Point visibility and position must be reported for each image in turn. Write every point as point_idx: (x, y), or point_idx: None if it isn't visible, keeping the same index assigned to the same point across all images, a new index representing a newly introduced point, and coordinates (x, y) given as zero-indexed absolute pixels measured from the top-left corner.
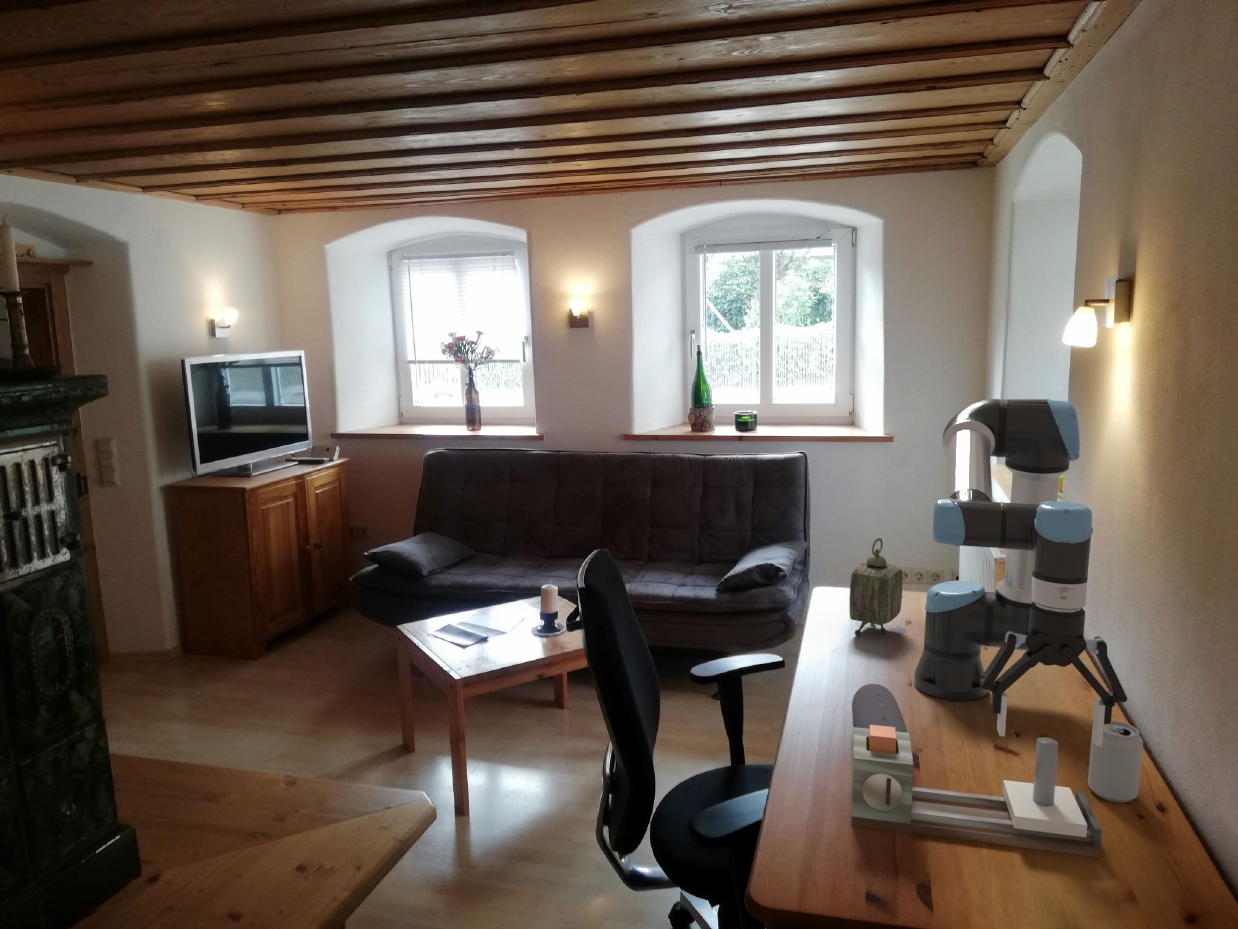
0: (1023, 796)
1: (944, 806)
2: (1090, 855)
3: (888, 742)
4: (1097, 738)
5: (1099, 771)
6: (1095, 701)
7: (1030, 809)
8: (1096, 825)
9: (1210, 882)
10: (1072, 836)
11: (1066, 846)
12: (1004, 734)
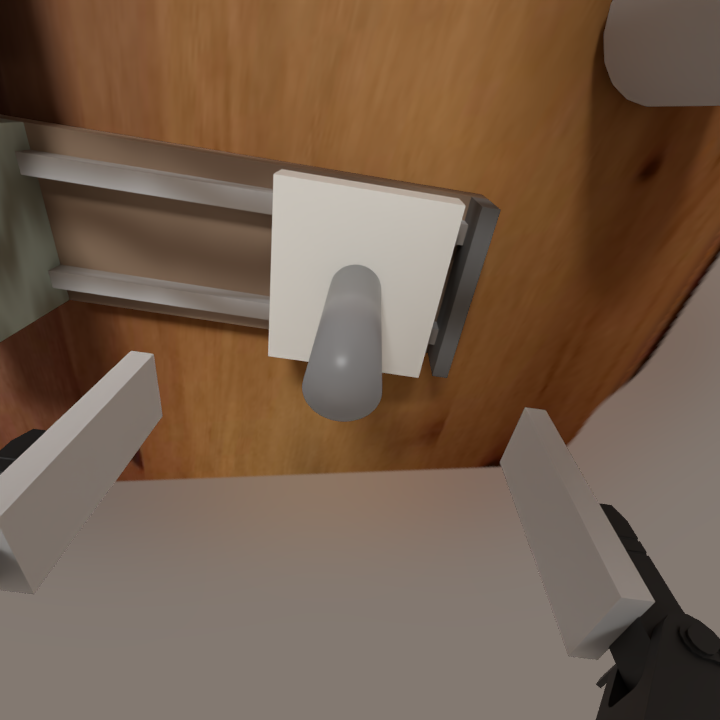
0: (310, 268)
1: (135, 217)
2: None
3: None
4: (511, 486)
5: (649, 55)
6: (603, 593)
7: (311, 327)
8: (444, 363)
9: (594, 396)
10: None
11: None
12: (156, 421)
